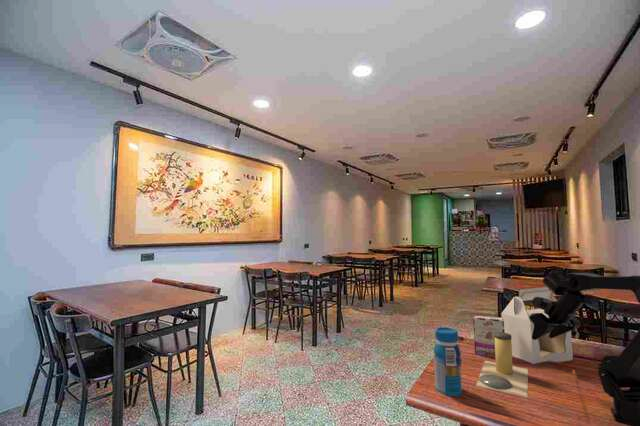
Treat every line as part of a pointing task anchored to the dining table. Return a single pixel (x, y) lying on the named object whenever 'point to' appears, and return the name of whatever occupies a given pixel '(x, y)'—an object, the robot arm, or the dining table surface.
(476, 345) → the candy bar box
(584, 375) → the dining table surface
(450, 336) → the beverage bottle
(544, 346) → the gable box
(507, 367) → the yellow cylinder
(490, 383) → the slate seat
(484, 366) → the base board
